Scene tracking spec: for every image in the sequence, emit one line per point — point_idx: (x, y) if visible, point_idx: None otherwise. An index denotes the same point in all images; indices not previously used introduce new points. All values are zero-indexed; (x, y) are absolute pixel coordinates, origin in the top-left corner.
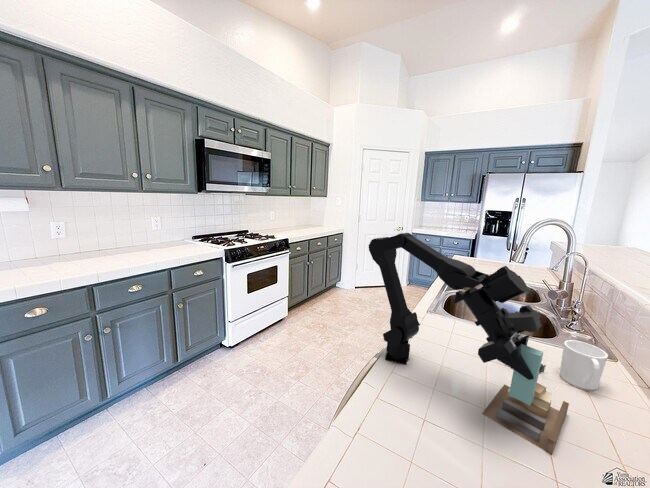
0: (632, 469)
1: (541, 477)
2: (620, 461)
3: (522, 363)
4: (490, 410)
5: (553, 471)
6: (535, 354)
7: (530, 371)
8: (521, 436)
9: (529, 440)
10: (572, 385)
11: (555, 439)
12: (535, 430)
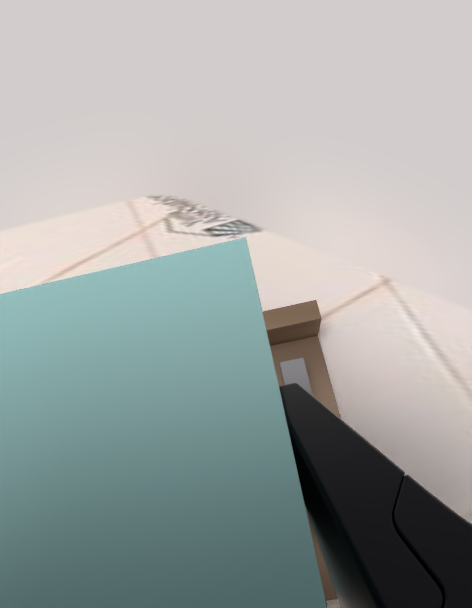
0: (142, 213)
1: (421, 305)
2: (136, 234)
3: (431, 500)
4: (320, 575)
5: (359, 298)
6: (262, 337)
7: (289, 416)
8: (337, 409)
9: (326, 384)
10: None
11: (298, 304)
12: (299, 374)
